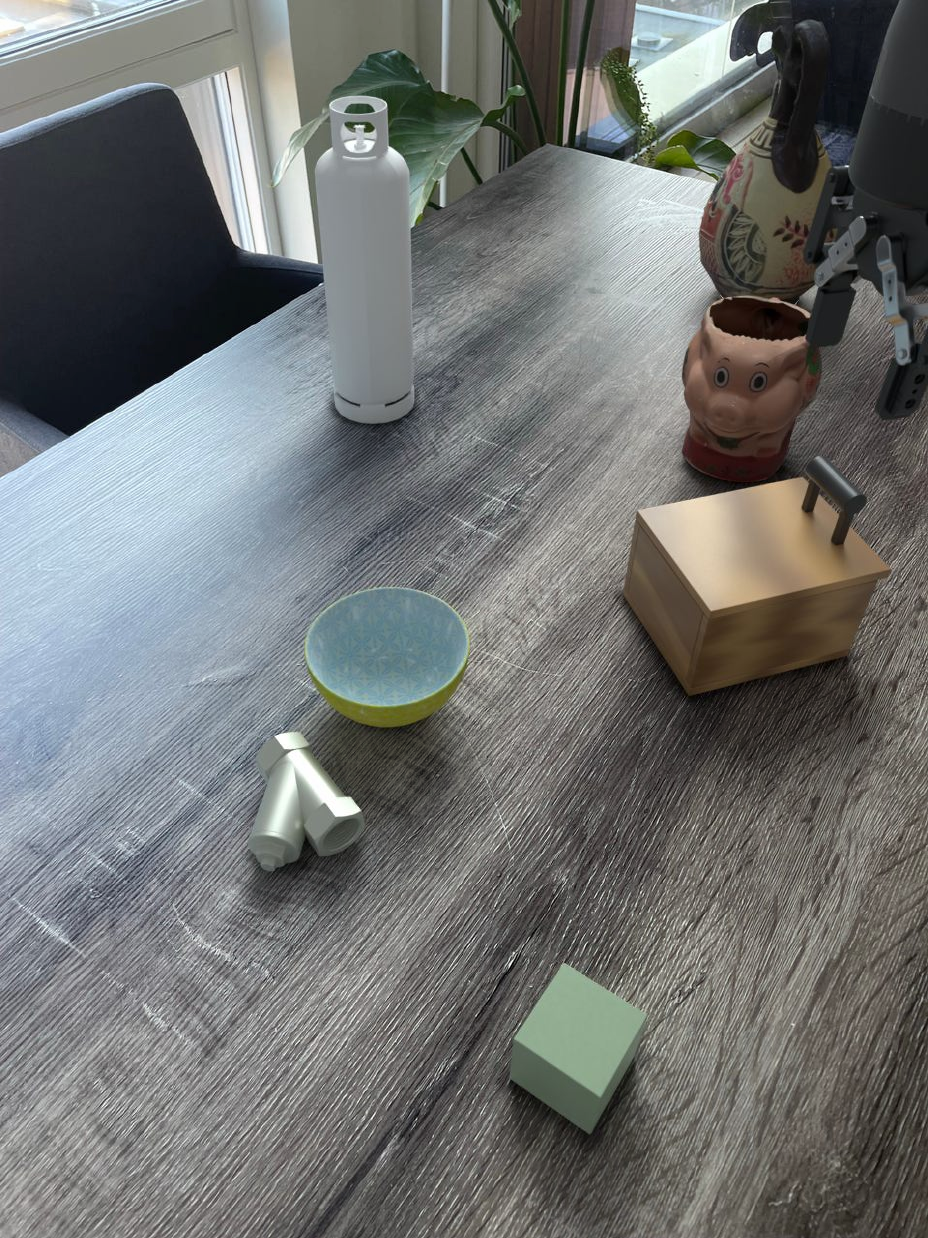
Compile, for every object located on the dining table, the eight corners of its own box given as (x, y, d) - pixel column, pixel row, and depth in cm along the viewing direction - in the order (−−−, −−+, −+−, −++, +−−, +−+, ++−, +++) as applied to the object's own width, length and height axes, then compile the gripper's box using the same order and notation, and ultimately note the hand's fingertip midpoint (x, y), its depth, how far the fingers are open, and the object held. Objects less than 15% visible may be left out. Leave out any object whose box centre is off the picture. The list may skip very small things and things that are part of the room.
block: (635, 1055, 55) (648, 1015, 51) (590, 1135, 52) (600, 1098, 48) (556, 1004, 57) (563, 962, 53) (508, 1078, 54) (513, 1039, 50)
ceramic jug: (680, 269, 124) (728, -9, 103) (805, 273, 124) (878, -5, 103) (697, 337, 112) (756, 36, 91) (836, 341, 112) (926, 41, 91)
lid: (800, 484, 79) (818, 426, 75) (888, 577, 71) (913, 518, 67) (635, 518, 76) (645, 459, 72) (708, 620, 68) (724, 559, 64)
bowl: (294, 754, 69) (284, 695, 65) (332, 637, 77) (325, 578, 73) (456, 774, 68) (457, 715, 64) (478, 653, 76) (479, 594, 72)
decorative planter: (685, 384, 105) (710, 255, 95) (804, 404, 102) (842, 274, 92) (652, 493, 91) (677, 355, 81) (788, 520, 88) (831, 381, 79)
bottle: (332, 423, 98) (304, 121, 79) (336, 380, 104) (312, 88, 85) (414, 423, 99) (407, 121, 79) (414, 380, 104) (407, 89, 85)
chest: (768, 561, 84) (791, 486, 79) (847, 656, 77) (878, 580, 71) (622, 594, 81) (635, 518, 76) (688, 696, 73) (708, 620, 68)
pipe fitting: (276, 896, 62) (368, 837, 64) (263, 864, 59) (360, 803, 61) (217, 808, 66) (305, 756, 69) (203, 774, 63) (296, 721, 66)
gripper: (1110, 137, 46) (976, 435, 57) (936, 47, 56) (851, 317, 67) (966, 148, 44) (858, 451, 56) (813, 54, 54) (748, 328, 66)
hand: (854, 378), depth 61 cm, fingers open, 8 cm apart
